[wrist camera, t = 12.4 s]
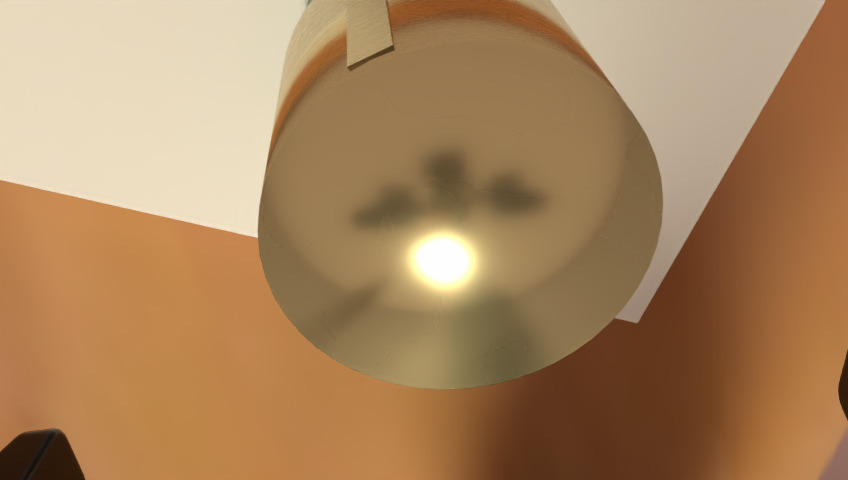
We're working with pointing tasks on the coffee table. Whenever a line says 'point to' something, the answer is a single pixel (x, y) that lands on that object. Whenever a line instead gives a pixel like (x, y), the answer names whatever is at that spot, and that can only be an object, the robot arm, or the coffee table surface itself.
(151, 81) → the neck block
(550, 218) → the cap
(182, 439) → the coffee table surface
